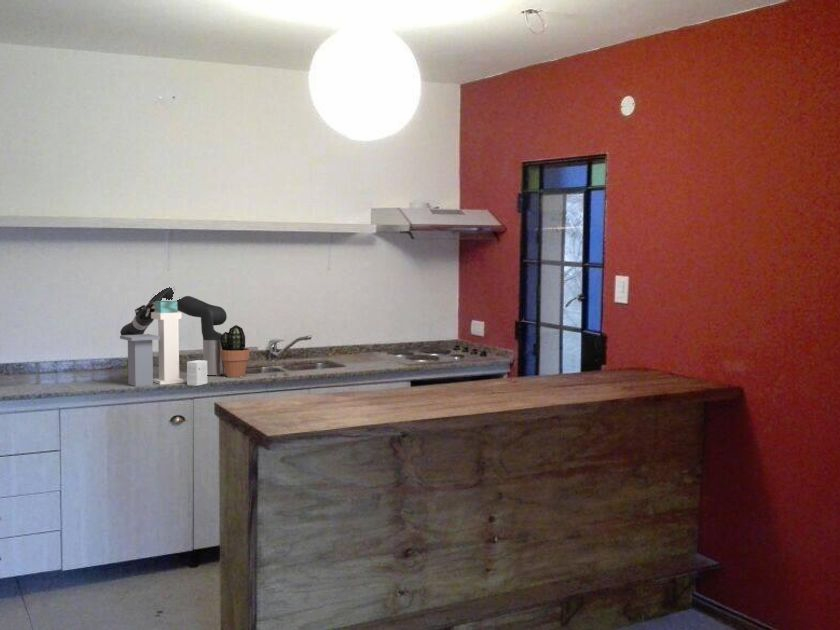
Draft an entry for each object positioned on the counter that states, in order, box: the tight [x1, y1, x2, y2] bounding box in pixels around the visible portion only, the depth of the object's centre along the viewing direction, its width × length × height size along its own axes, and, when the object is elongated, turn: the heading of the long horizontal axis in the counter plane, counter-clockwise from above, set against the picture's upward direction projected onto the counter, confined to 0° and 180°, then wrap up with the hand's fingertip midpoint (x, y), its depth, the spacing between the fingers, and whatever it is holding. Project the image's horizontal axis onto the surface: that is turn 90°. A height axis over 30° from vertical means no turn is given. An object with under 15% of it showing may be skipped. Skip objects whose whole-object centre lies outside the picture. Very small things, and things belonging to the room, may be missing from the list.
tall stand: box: [151, 311, 184, 385], centre depth 387 cm, size 11×10×32 cm
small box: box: [186, 359, 208, 387], centre depth 382 cm, size 8×6×10 cm
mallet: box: [147, 301, 179, 313], centre depth 391 cm, size 8×20×5 cm, turn 41°
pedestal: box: [119, 333, 160, 387], centre depth 379 cm, size 13×13×22 cm
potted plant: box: [220, 324, 251, 378], centre depth 408 cm, size 14×14×25 cm
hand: (155, 302), depth 394 cm, fingers closed on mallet, 2 cm apart
